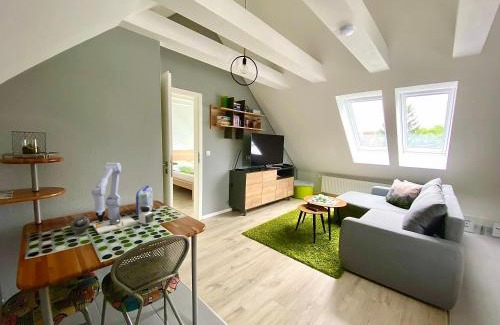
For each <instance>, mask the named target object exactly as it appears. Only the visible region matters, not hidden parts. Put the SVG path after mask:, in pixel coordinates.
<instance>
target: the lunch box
mask: <svg viewBox="0 0 500 325" xmlns="http://www.w3.org/2000/svg"><path fill="white" fill-rule="evenodd" d="M153 190H154V189H153V187H152V186H149V185H145V186H142V187H141V189H139V190H138V191H137V192H136V194H135V201H136V202H135V214H136V216H139V214H140V213H141V208H142V207H144V206H149V207H150V212H152V210H153V209H154V191H153Z"/></svg>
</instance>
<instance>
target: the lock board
mask: <svg viewBox="0 0 500 325" xmlns="http://www.w3.org/2000/svg"><path fill="white" fill-rule="evenodd" d="M119 218H120V223H119V224H116V225H106V226H102V227H98V228H97V227H96V223H97V222H96V223H92V227H93V229H94V230H95V231H96V232H97V234H99V235H100V234H103V233H107V232H111V231H115V230H118V229H123V228H126V227H131V226H134V225H137V224H138V222H137V221H136V220H134V219H133V218H132V217H130V215H127V216H121V217H119ZM109 220H110V219H109ZM109 220H107V221H109ZM105 221H106V220H105ZM105 221H103V222H105ZM98 223H100V222H99V221H98Z"/></svg>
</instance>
